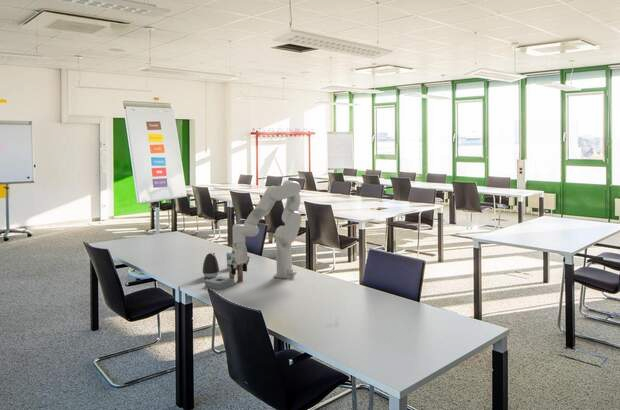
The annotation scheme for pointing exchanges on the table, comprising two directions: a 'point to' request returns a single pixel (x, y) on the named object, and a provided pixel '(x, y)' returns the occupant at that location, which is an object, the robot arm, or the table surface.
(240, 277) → the long pin
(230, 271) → the short pin
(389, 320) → the table surface
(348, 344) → the table surface
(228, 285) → the block
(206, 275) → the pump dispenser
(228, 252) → the light bulb box
